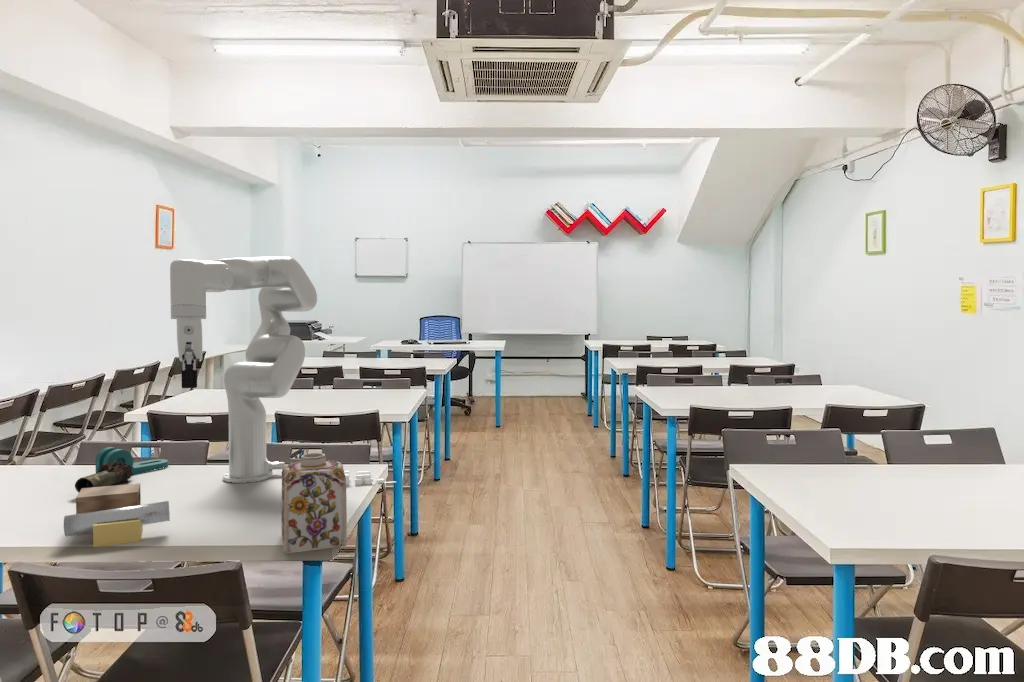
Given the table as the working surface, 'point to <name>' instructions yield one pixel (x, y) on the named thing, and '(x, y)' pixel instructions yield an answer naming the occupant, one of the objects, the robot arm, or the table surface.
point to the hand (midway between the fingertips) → (189, 385)
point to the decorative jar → (313, 504)
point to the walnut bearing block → (107, 498)
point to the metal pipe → (106, 476)
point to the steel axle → (116, 517)
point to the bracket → (127, 460)
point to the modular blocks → (363, 478)
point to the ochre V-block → (117, 532)
